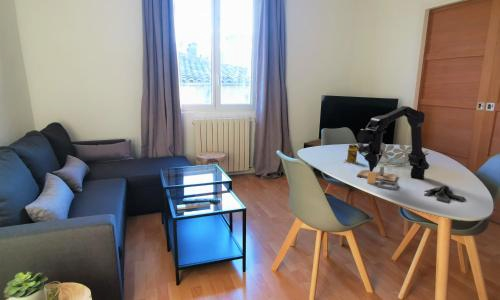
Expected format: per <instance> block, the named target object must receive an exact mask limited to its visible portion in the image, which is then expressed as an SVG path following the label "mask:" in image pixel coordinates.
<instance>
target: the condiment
mask: <svg viewBox="0 0 500 300" xmlns="http://www.w3.org/2000/svg"><path fill="white" fill-rule="evenodd" d="M357 156H358V145H357V144H354V143H353V144H352V143H350V144H349V145H348V148H347V156H346V157H347V159H344V160H343V162H342V163H348V164H353V165H354V164H355V165H356V164H357V163H358V160H357Z"/></svg>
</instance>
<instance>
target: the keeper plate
mask: <svg viewBox="0 0 500 300" xmlns="http://www.w3.org/2000/svg"><path fill="white" fill-rule="evenodd" d="M368 172H371V171H370V169H363V168H362V169H361V170H359V172H358V173H357V174H356V177H357V178H363V179H368ZM372 172H373V173H377V174H376V181H378V182H380V181H381V180H382V181H388V182H393V183H396V180H397V179H398V174H395V173H390V172H389V173H388V172H385V167H384V166H383V165H381V166H379V170H378V171H376V170H373V171H372Z"/></svg>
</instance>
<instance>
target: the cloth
mask: <svg viewBox="0 0 500 300" xmlns="http://www.w3.org/2000/svg"><path fill="white" fill-rule="evenodd" d="M453 191H454V190H451V189H450V186H448V185H441V186H440V187H434V188H430V189H427V190H424V191H423V192H424V194H423V196H424V197H427V196H428V197H430V196H431V195H435V197H436V199H435V201H437V202H441V203H445V204H450V202H451V201H450V200H451V199H452V200H455V201H457V202H458V203H464V201H465V200H466V197H464V196H462V195H457V194H453Z"/></svg>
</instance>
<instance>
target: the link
mask: <svg viewBox="0 0 500 300" xmlns="http://www.w3.org/2000/svg"><path fill="white" fill-rule="evenodd" d="M376 174H377V173H373V172H368V178H367V179H366V180H367V181H366V183H367V184H371V185H377V188H380V189H385V190H391V191H397V189H398V188H399V183H398V182H394V183H393V182H388V181H382V180H381V181H377V180H376ZM383 184H384V185H383ZM389 185H390V186H389Z"/></svg>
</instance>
